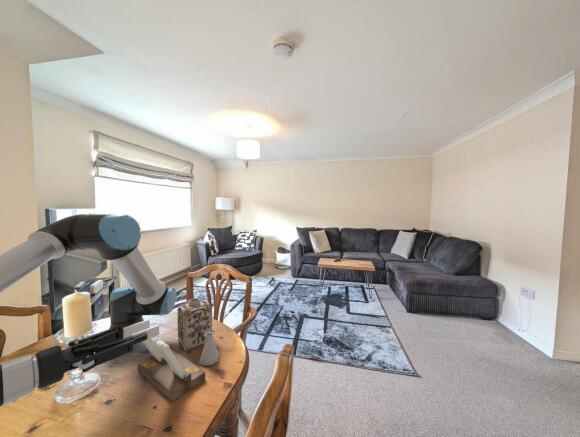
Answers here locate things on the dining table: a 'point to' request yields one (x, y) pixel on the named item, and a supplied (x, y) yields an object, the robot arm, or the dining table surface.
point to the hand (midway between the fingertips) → (153, 326)
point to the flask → (209, 351)
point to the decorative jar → (194, 323)
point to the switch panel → (171, 375)
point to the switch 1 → (153, 349)
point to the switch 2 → (170, 358)
